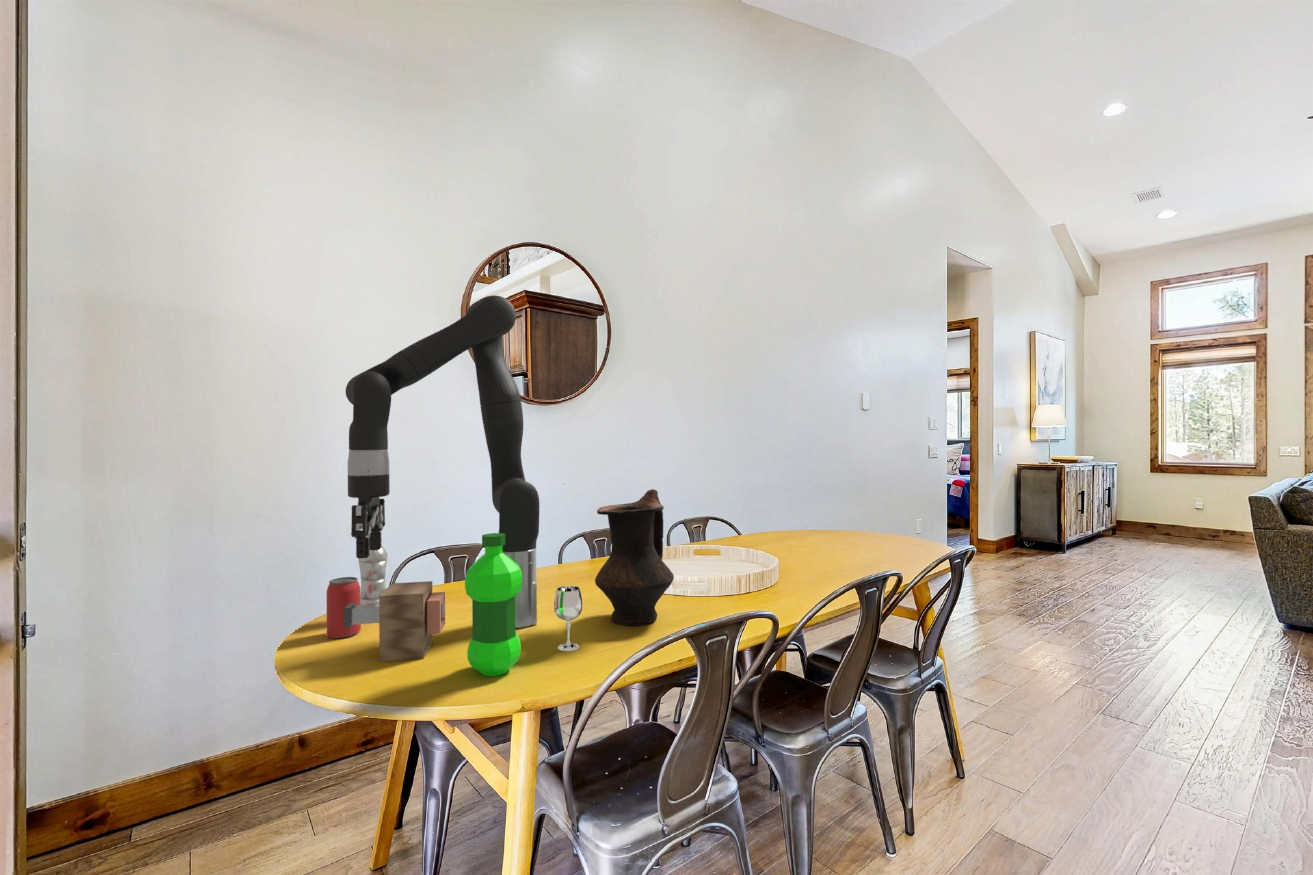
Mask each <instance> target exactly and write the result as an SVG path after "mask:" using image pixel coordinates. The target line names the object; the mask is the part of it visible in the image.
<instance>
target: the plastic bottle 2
mask: <svg viewBox="0 0 1313 875" xmlns="http://www.w3.org/2000/svg"><path fill="white" fill-rule="evenodd" d="M481 536H482V537H481V546H482V547H484V554H483V555H482V556H480V557H479V558H478V559H477V560H476V561H475V562H474V563H473V564H472V565H471V566H470V567H469V568H468V570H467V573H466V575H465V578H464V589H465V593H466V595H467V596H468V598H470V599H471V601H472V602H471V604H472V607H471V608H472V610H471V612H472V613H471V614H472V617H471V618H472V619H471V620H472V626H471V627H472V635H471V636H472V637H471V638H470V640H469V644H468V647H467V650H466V654H467V655H466V656H467V657H466V659H467V662H468V664H469V665H470V666H471V667H472V668H473V669H474V670H476V671H477V672H479V673H480V675H483V676H487V677H489V676H490V677H496V676H499V675H500V676H501V675H503V674H506V673H507V672H508V671H510V670H509V669H511V668H512V667H513V666H514V665H515V664H516V663H517V662H518V661H519V658H520V656H521V652H522V648H521V647H522V646H521V640H520V638H519V635H518V633H517V632H516V628H515V596H516V595H517V594H518V593H519V592H520V591H521V586H522V572H521V570H520V567H519V565H517V564H516V563H515V562H514V561H513V560H512V559H511V558H509V557H508V556H507V555H505V554H504V553H503V552H502V545H505V534H503V533H499V532H493V533H484V534H482V535H481Z"/></svg>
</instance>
